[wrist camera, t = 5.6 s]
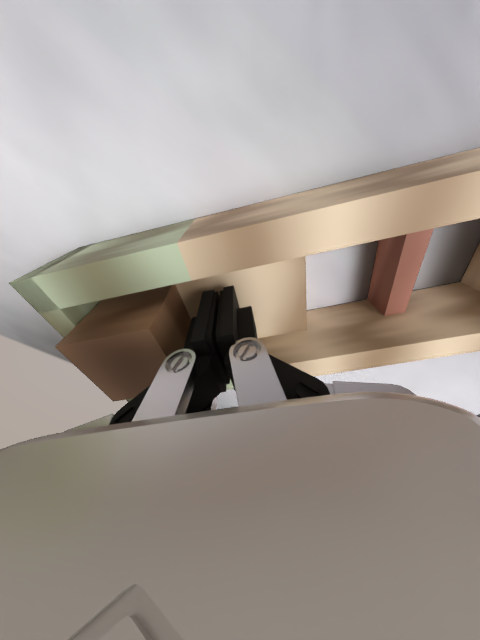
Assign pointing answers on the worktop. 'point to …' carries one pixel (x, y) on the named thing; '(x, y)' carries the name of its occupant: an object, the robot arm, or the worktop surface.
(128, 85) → the worktop surface
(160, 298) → the block
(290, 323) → the box
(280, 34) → the worktop surface
